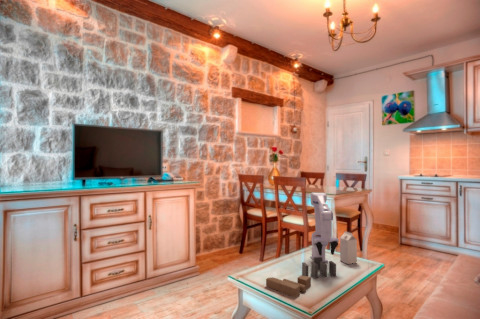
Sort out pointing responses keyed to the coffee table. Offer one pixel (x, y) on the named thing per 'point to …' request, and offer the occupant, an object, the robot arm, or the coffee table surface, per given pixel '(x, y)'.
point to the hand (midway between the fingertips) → (326, 254)
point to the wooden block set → (289, 285)
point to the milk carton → (348, 248)
